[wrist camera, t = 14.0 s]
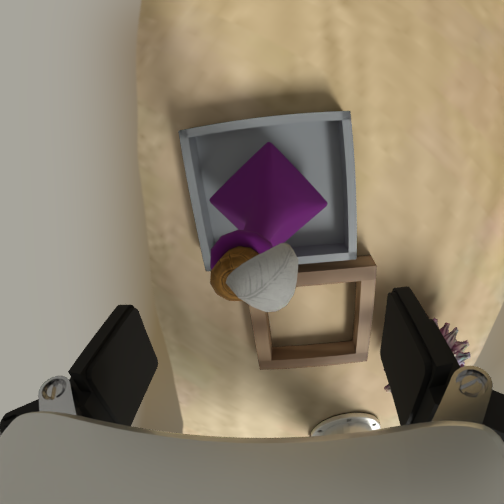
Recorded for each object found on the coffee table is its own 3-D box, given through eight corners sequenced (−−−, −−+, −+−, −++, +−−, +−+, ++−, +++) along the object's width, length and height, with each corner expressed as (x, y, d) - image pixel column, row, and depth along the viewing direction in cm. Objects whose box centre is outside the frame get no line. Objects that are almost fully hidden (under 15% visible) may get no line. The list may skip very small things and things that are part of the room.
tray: (350, 246, 31) (356, 259, 29) (211, 258, 33) (205, 271, 31) (343, 111, 26) (350, 110, 23) (188, 129, 28) (178, 130, 25)
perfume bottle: (268, 242, 31) (253, 378, 15) (215, 191, 30) (138, 287, 13) (324, 194, 29) (374, 298, 13) (270, 137, 27) (254, 169, 11)
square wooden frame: (363, 348, 37) (366, 361, 35) (261, 356, 39) (260, 369, 37) (370, 255, 32) (376, 265, 29) (246, 265, 33) (244, 276, 31)
